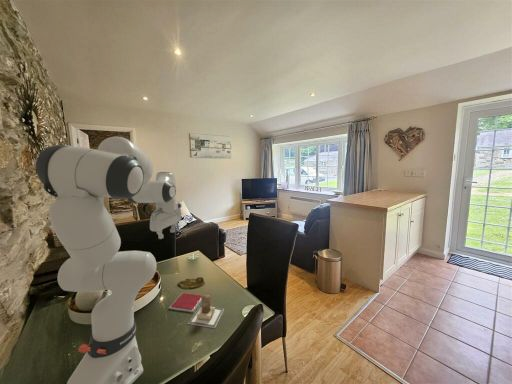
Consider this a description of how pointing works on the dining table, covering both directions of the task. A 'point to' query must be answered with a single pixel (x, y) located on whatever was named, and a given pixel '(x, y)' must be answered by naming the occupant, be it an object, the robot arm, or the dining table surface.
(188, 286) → the seal
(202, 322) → the sheet
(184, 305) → the ink pad
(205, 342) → the dining table surface
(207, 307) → the stamp
